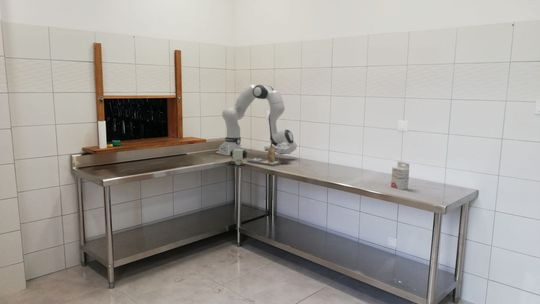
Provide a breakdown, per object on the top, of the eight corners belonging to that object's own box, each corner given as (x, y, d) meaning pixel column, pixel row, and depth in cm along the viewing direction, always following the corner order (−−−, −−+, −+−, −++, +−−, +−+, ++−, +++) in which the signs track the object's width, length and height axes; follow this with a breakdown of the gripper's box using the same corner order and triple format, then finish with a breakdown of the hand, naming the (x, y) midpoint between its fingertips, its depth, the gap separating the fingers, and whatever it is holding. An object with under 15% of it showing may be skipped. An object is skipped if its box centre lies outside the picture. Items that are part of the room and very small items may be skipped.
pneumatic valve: (245, 165, 293) (245, 149, 291) (230, 164, 296) (230, 148, 295) (247, 164, 298) (247, 148, 297) (232, 163, 302) (232, 147, 300)
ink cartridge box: (390, 186, 239) (392, 162, 236) (395, 185, 242) (397, 161, 239) (402, 190, 232) (404, 164, 230) (408, 188, 235) (410, 163, 232)
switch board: (247, 162, 308) (247, 159, 307) (257, 159, 318) (257, 157, 318) (272, 166, 294) (272, 163, 293) (283, 163, 304) (283, 161, 304)
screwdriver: (266, 162, 302) (266, 140, 299) (270, 161, 306) (270, 139, 303) (271, 162, 299) (272, 141, 296) (275, 161, 303) (276, 140, 300)
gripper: (270, 143, 317) (259, 144, 306) (292, 145, 304) (282, 147, 294) (270, 151, 318) (259, 153, 307) (292, 154, 306) (282, 156, 295)
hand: (270, 150), depth 300 cm, fingers open, 8 cm apart
